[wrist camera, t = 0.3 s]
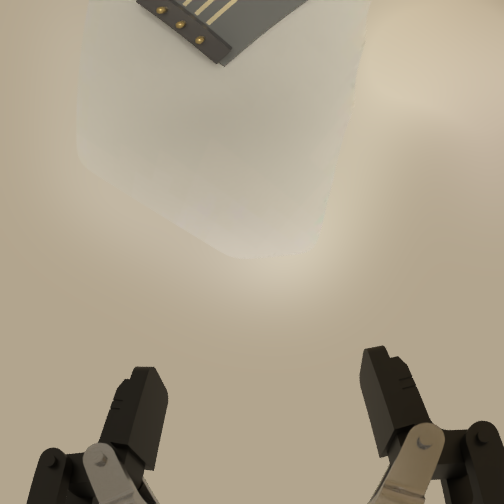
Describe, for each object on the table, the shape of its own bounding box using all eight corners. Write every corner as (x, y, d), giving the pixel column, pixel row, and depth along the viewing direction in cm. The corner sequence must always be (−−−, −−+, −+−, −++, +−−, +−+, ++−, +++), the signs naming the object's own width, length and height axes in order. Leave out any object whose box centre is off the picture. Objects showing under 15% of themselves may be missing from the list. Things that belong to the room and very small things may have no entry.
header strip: (143, 1, 22) (135, 1, 20) (156, -13, 21) (149, -14, 19) (218, 59, 28) (216, 64, 26) (232, 47, 27) (231, 50, 25)
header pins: (159, 10, 21) (154, 11, 20) (164, 5, 21) (159, 5, 20) (201, 43, 24) (199, 45, 23) (206, 38, 24) (204, 40, 23)
